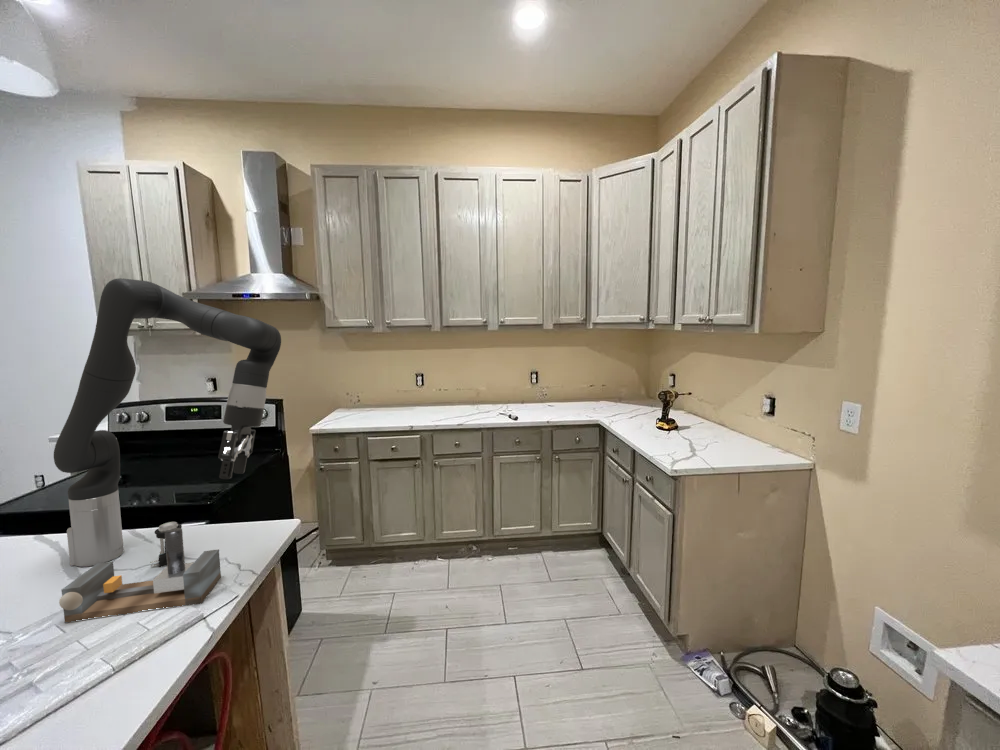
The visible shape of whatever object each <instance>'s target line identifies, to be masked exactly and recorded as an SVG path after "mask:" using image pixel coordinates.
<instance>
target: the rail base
mask: <svg viewBox="0 0 1000 750" xmlns="http://www.w3.org/2000/svg"><path fill="white" fill-rule="evenodd" d="M220 558H221V557H220V548H219V549H210V550H204V551H203V552H202V553H201V554H200V555H199V556H198V557H197V558H196V559H195V561H194V563H193V564H192V565H191V566H190V567H189V568H188V569H187V570H186V571H185V572H184V574H183V581H184V590H177V591H169V592H162V593H155V594H154V587H153V580H146V581H145V580H144V581H138V582H131V583H122V585H121V586H120V587H118V588H117V589H116V590H115V591H114V592H110V593H104V587H103V584H104V583H105V582H107V581H108V580H109V579H110V578H111V577H113V576H115V569H114V562H113V561H107V562H104V563H99V564H96V565H93V566H91V567H90V568H89V569H87V570H86V571H85V572H84V573H82V574H80V575H79V576H78V577H77V578H75V579H73V581H71V582H70V583H68V584H67V585H66V586H64V587H63V588H61V596H60V598H59V602H58V603H59V606H60V607H61V609H63V616H64V623H65V622H68V623H72V622H71V621H75V622H77V621H76V620H82V619H88V618H94V617H102V616H108V615H117V616H119V615H118V614H124V615H128V614H127V613H131V614H134V613H133V612H138V611H142V610H148V609H156V608H163V607H164V608H166V607H173V606H180V607H183V606H182V605H187V606H193V604H194V605H200V603H201V604H202V603H203V602H204V601H205V600H206V598H207V597H208V596H207V595H209V594H210V593H211V592H212V591H213V589H214V588H215V586H216V585H217V584H218V582H219V581H220V580H221V578H222V574H221V572H222V571H221V559H220ZM210 591H211V592H210ZM209 592H210V593H209ZM206 596H207V597H206ZM204 599H205V600H204ZM173 608H174V607H173ZM166 609H167V608H166ZM138 613H139V612H138ZM82 621H83V620H82Z"/></svg>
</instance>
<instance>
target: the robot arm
mask: <svg viewBox="0 0 1000 750" xmlns="http://www.w3.org/2000/svg"><path fill="white" fill-rule="evenodd" d="M98 304H99V305H98V309H97V310H98V312H97V318H96V324H95V330H94V334H93V338H92V342H91V346H90V349H89V353H88V357H87V359H86V362H85V364H84V367H83V371H82V374H81V377H80V379H79V380H80V381H79V385H78V389H77V392H76V395H75V399H74V401H73V404H72V406H71V409H70V411H69V415H68V417H67V418H66V421H65V423H64V425H63V428H62V429H61V432H60V433H59V436H58V438H57V440H56V443H55V445H54V448H53V449H54V450H53V462H54V464H55V467H56V468H57V469H58V470H59V471H60V472H62V473H66V474H72V473H73V474H74V473H79V472H83V471H87V472H86V473H85V474H84V475H83V477H81V478H80V479H79V480H78V481H76V482H75V483H73V484H71V485H70V486H69V487H68V489H67V499H68V507H69V508H68V509H69V516H70V526H71V527H68V528H67V530H66V535H67V547H68V557H69V565H70V566H72V567H73V566H75V567H81V568H83V567H93V566H94V565H96V564H99V563H107V562H111V561H112V560H115V559H117V558H118V557H120V556H121V555H123V553H125V552H124V538H123V537H124V536H123V527H122V517H121V515H122V514H121V505H120V496H119V493H120V492H119V482H120V480H121V451H120V445H119V444H120V443H119V441H118V438H117V437H116V436H115V434H114V433H113V432H111V431H109V430H106V429H105V430H103V429H100V430H97V428H98V427H99V425H100V424H101V422H102V421H103V420H104V419H105V418H106V417H108V416H109V414H110V413H111V412H113V410H115V409H116V408H117V407H118V406H119V405H120V404H121V403H122V401H124V399H126V397H127V396H128V395H129V393H130V390H131V388H132V385H133V381H134V379H135V376H136V372H137V367H136V362H135V360H134V357H133V354H132V353H131V350H130V347H129V344H128V337H129V332H130V330H131V329H130V328H131V325H132V323H133V322H134V319H140V320H141V319H143V320H144V319H145V320H146V319H147V320H148V319H163V320H169V321H175V322H179V323H181V324H183V325H184V326H186V327H187V328H189V329H190V330H192V331H194V332H195V333H198V334H201V335H203V336H205V337H206V336H207V337H210V338H213V339H216V340H219V341H224V342H228V343H231V344H235V345H237V346H239V347H240V346H241V347H243V348H246V349H249V354H248V355H247V358H246V359H241V360H239V361H237V363H236V365H235V367H234V372H233V378H232V383H231V387H230V389H229V392H228V396H227V400H226V406H225V411H224V416H223V424H225V425H227V426H228V425H229V426H231V427H230V430H224V431H223V432H222V437H221V442H220V447H219V451H218V456H217V457H218V459H219V460H220V461H221V464H220V465H221V466H220V471H219V475H218V477H219V479H222V480H230V479H232V478H233V473H234V474H238V475H239V474H240V475H242V474H244V473H245V471H246V466H247V462H248V458H249V457H250V455H252V453H253V449H254V443H255V437H256V432H257V431H256V429H252V428H259V427H261V425H262V420H263V417H264V412H265V411H264V410H265V406H266V405H265V404H266V400H267V390H268V389H267V388H268V383H269V377H270V372H271V369H272V367H273V366H274V363H275V361H276V359H277V357H278V355H279V352H280V349H281V346H282V336H281V332H280V331H279V329H277V327H275V326H273V325H271V324H268V323H267V322H264V321H263V320H260V319H257V318H254V317H249V316H246V315H241V314H236V313H233V312H230V311H227V310H225V309H221V308H218V307H214V306H211V305H207V304H205V303H200V302H198V301H197V302H196V301H195V300H194V301H193V300H191V299H189V298H186V297H183V296H181V295H179V294H177V293H175V292H173V291H171V290H169V289H166V288H165V287H163V286H160V285H159V284H157V283H154V282H152V281H148V280H141V279H130V278H121V277H120V278H114V279H111V280H110V281H108V282H106V284H105V286H104V287H103V289H102V292H101V294H100V301H99V303H98Z"/></svg>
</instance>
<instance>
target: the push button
mask: <svg viewBox="0 0 1000 750" xmlns="http://www.w3.org/2000/svg"><path fill="white" fill-rule="evenodd" d="M182 527H183V525H182V524H180V523H178V522H177V521H168V522H165V523H163V524H160V525H159V526H158V528H156V529H155V530H154V534H155V536H156V538H157V539H159V541H160V552H159V554H158V558H157V559H156V560H152V561H150V562H149V564H151V565H150V566H149V567H151V568H152V567H154V566H155V567H156V566H159V567H160V568H162V567H165V566H166V567H167V555H166V543H165V532H166V531H168V530H171V529H175V528H182ZM182 529H183V528H182ZM153 563H154V564H153ZM161 566H162V567H161Z"/></svg>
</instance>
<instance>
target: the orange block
mask: <svg viewBox="0 0 1000 750" xmlns="http://www.w3.org/2000/svg"><path fill="white" fill-rule="evenodd" d="M122 584H123V577H122V574H121V575H114V576H113V577H111V578H110V579H109V580H108V581H107V582H105V583H104V584H103V587H104V593H110V592H114V591H115V590H116V589H117V588H118V587H120V586H121V585H122Z"/></svg>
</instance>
